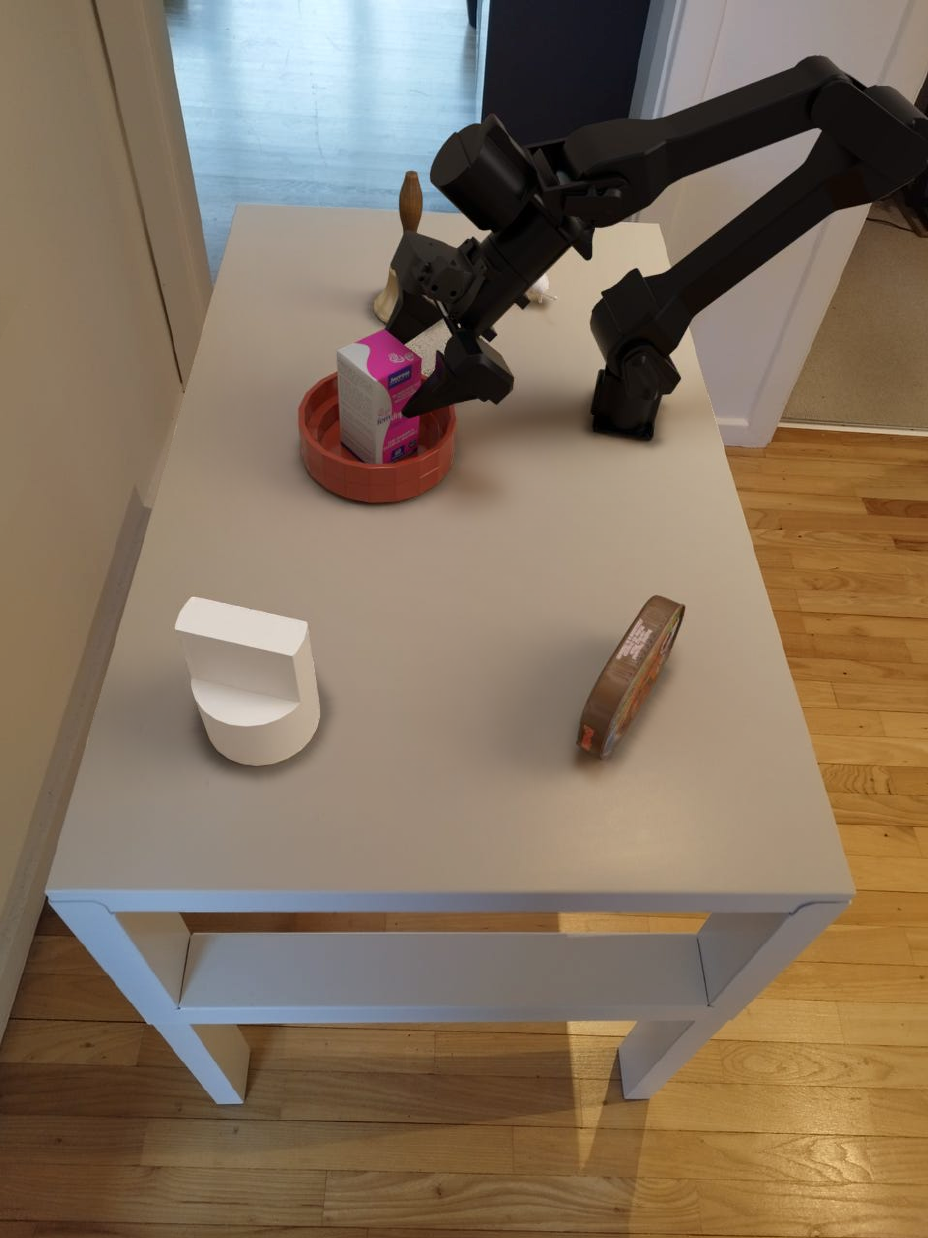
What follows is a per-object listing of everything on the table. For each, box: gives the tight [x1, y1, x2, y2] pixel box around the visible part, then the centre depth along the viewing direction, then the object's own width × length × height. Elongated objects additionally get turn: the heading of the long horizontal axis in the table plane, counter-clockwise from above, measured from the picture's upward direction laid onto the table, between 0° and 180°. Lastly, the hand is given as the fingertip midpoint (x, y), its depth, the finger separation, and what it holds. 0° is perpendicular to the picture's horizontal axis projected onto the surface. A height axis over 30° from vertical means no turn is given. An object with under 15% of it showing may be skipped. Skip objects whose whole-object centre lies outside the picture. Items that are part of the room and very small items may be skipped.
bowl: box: [297, 371, 458, 504], centre depth 87 cm, size 15×15×5 cm
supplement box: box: [336, 328, 423, 464], centre depth 84 cm, size 6×6×12 cm
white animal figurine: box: [526, 272, 558, 306], centre depth 105 cm, size 12×5×5 cm, turn 21°
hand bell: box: [372, 170, 424, 324], centre depth 98 cm, size 8×8×16 cm
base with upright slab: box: [174, 595, 321, 767], centre depth 65 cm, size 9×9×12 cm
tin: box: [575, 594, 686, 762], centre depth 69 cm, size 15×3×8 cm, turn 148°
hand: (390, 384), depth 83 cm, fingers open, 9 cm apart
